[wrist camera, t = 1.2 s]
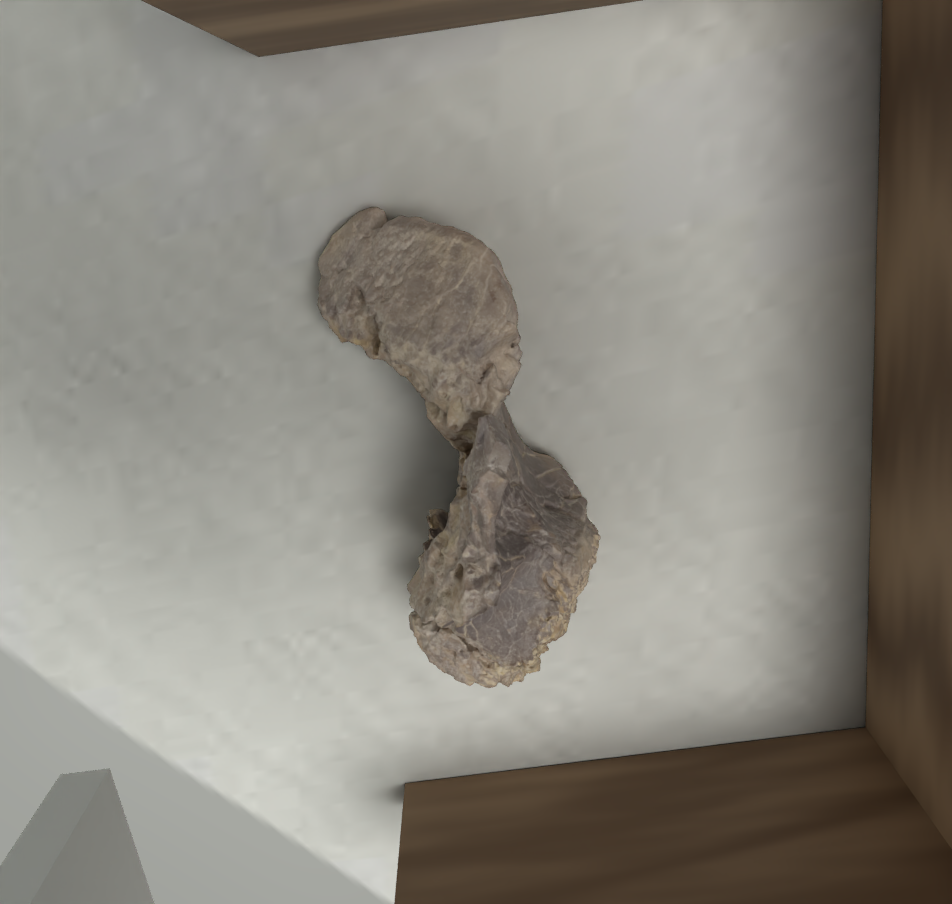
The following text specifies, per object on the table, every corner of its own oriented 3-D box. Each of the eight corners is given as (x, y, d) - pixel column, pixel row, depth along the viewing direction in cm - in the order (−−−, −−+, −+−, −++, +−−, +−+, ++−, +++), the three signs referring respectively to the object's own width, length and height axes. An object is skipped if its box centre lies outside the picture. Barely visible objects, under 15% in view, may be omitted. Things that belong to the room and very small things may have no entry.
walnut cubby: (250, 15, 22) (94, -88, 13) (923, -86, 22) (1281, -270, 12) (409, 805, 31) (387, 1094, 21) (892, 746, 30) (1088, 1015, 21)
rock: (508, 170, 24) (529, 178, 17) (609, 607, 28) (656, 749, 22) (308, 224, 24) (249, 253, 17) (440, 647, 29) (435, 798, 22)
